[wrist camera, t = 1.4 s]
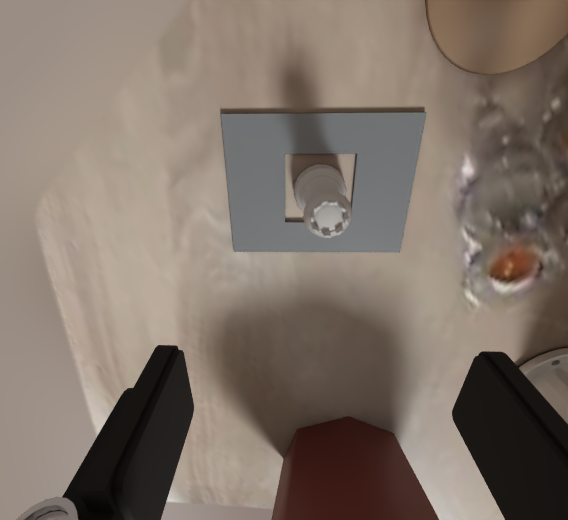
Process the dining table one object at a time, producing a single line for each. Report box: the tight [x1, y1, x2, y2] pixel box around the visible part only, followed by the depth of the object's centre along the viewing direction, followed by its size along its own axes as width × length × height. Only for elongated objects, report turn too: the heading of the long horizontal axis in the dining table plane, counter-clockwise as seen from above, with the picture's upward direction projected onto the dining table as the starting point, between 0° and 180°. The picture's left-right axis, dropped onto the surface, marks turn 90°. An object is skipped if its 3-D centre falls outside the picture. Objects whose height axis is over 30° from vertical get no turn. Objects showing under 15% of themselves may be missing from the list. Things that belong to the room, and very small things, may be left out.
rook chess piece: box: [294, 164, 353, 238], centre depth 22 cm, size 4×4×8 cm
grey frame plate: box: [221, 112, 426, 252], centre depth 26 cm, size 16×12×1 cm
